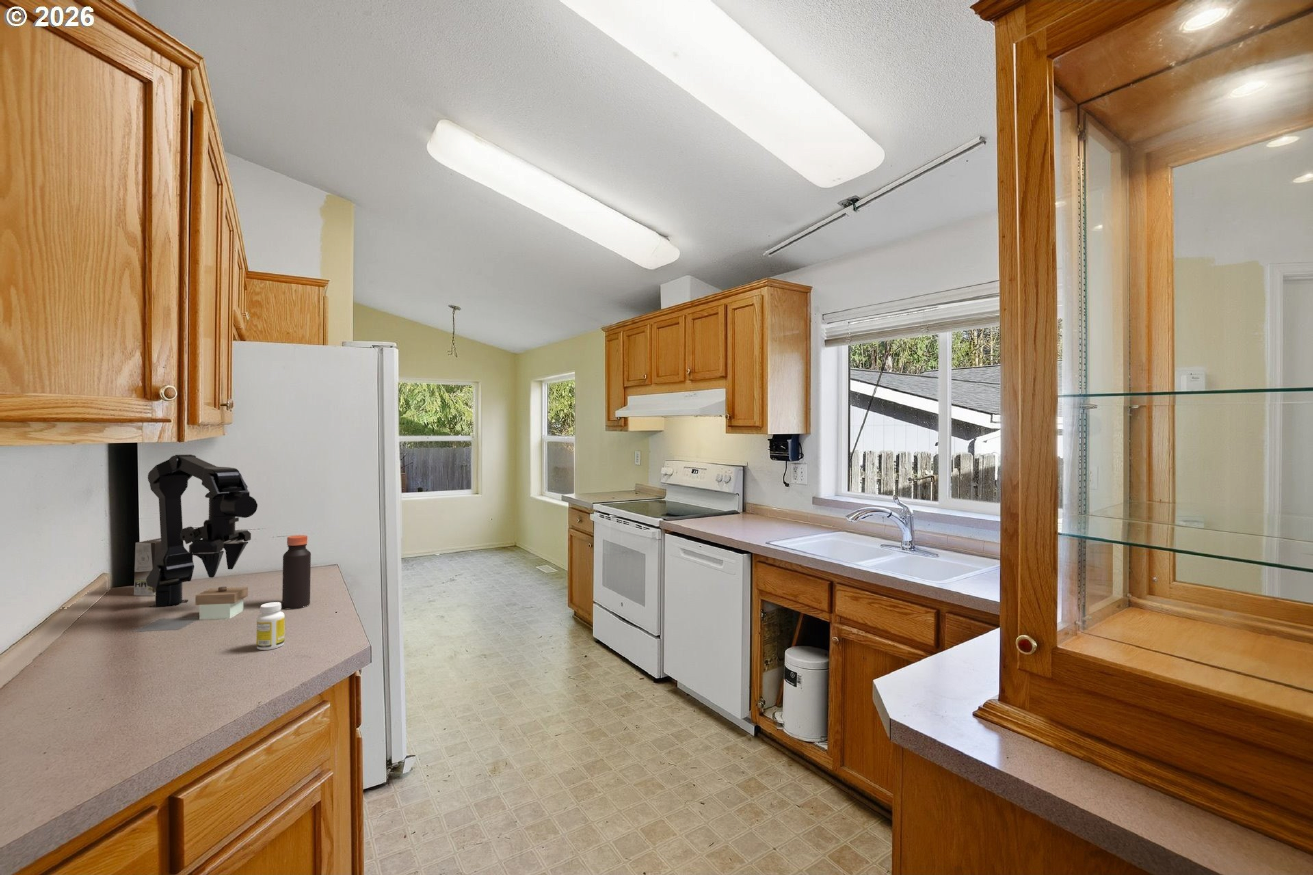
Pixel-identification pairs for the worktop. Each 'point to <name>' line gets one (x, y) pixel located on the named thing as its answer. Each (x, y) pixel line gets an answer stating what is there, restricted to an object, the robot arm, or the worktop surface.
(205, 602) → the cover
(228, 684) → the worktop surface
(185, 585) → the worktop surface
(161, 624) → the mat
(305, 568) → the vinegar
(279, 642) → the supplement bottle
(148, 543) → the coffee box
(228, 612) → the pale green box
